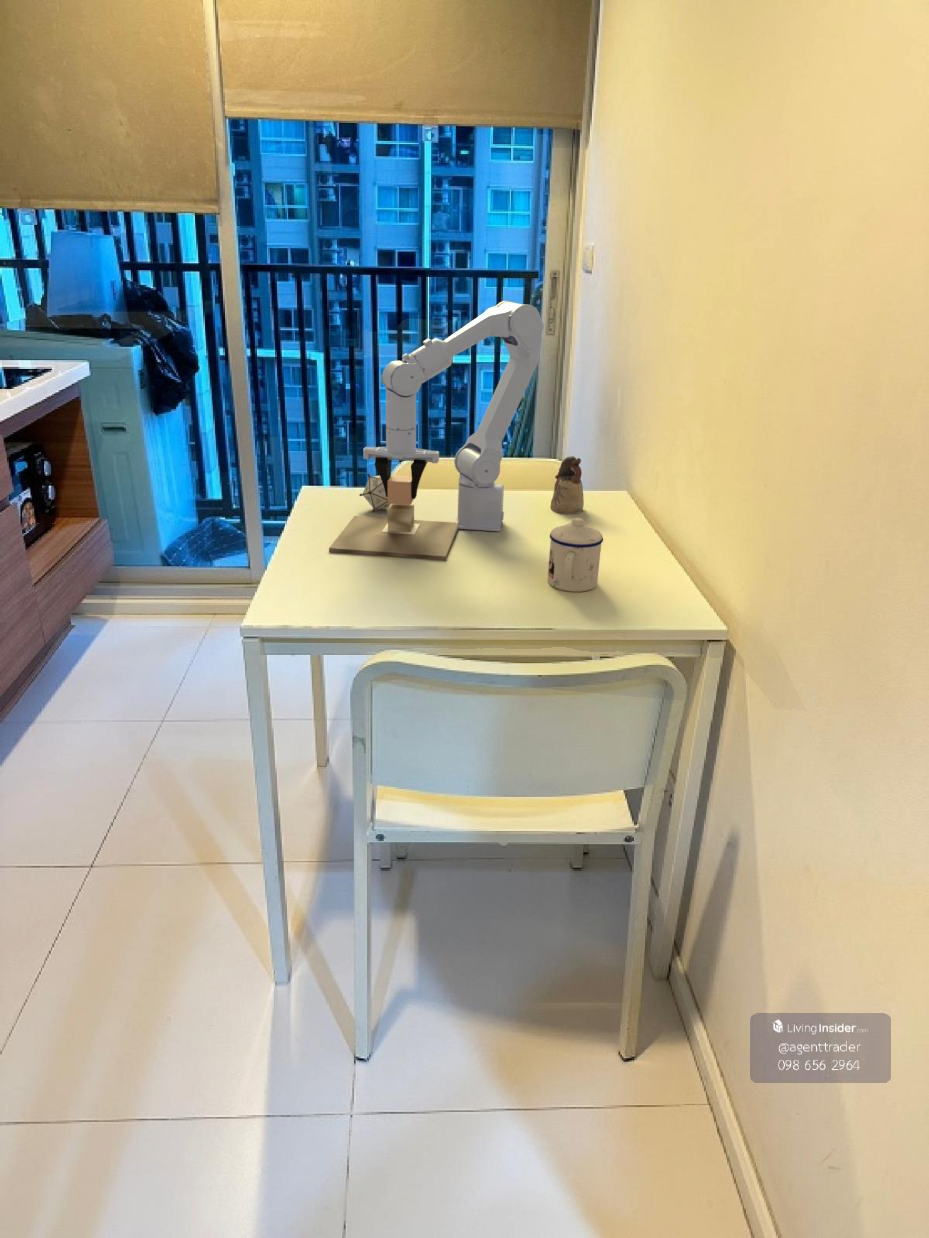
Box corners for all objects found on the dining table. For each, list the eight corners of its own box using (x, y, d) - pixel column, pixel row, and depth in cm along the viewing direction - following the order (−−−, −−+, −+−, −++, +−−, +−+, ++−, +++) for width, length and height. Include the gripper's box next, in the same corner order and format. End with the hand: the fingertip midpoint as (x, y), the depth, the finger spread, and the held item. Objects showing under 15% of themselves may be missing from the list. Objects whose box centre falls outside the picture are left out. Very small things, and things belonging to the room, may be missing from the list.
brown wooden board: (459, 526, 171) (459, 522, 171) (445, 560, 153) (445, 555, 153) (354, 519, 173) (354, 515, 173) (329, 552, 155) (328, 547, 155)
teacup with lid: (551, 570, 150) (556, 508, 145) (601, 577, 148) (608, 514, 143) (538, 595, 139) (542, 529, 134) (591, 602, 137) (598, 536, 132)
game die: (388, 528, 180) (400, 500, 172) (351, 513, 179) (361, 484, 171) (399, 498, 185) (411, 470, 177) (363, 484, 184) (374, 454, 176)
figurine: (569, 503, 189) (574, 451, 184) (589, 511, 183) (594, 458, 178) (544, 507, 185) (548, 454, 180) (563, 516, 180) (568, 461, 175)
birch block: (414, 525, 168) (414, 503, 166) (410, 532, 164) (410, 510, 162) (392, 523, 168) (392, 502, 166) (387, 530, 164) (387, 508, 162)
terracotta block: (414, 498, 166) (414, 476, 164) (410, 504, 162) (410, 482, 160) (392, 497, 166) (392, 475, 164) (387, 503, 162) (387, 480, 160)
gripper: (358, 429, 155) (360, 499, 161) (435, 433, 153) (434, 504, 159) (367, 422, 161) (368, 490, 167) (441, 426, 160) (439, 494, 166)
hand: (401, 496), depth 164 cm, fingers closed on terracotta block, 4 cm apart
